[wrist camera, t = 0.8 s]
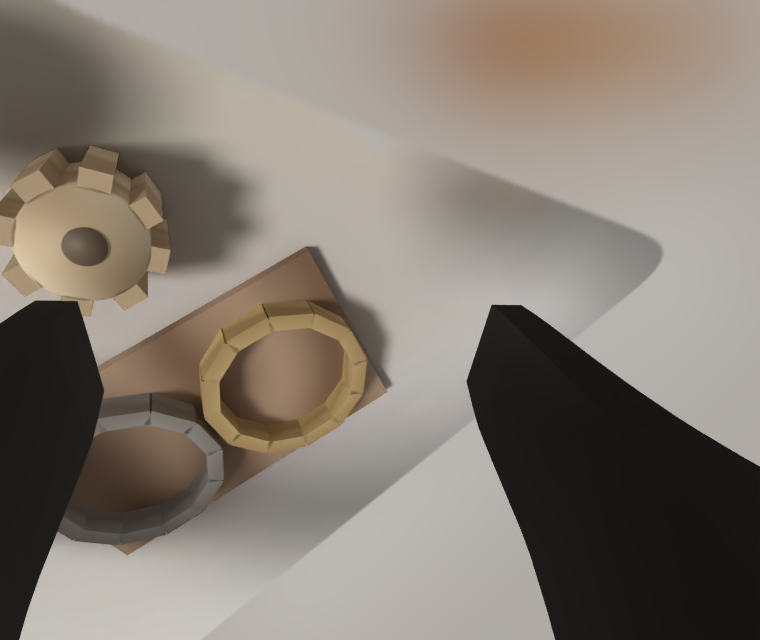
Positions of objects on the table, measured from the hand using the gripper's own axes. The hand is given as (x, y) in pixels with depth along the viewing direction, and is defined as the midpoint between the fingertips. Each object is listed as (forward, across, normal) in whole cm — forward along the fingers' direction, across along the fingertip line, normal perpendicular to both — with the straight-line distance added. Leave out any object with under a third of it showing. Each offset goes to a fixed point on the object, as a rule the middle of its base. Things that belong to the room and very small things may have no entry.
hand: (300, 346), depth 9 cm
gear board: (+12, +4, +15) cm, 20 cm away
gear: (+13, +8, +4) cm, 16 cm away
